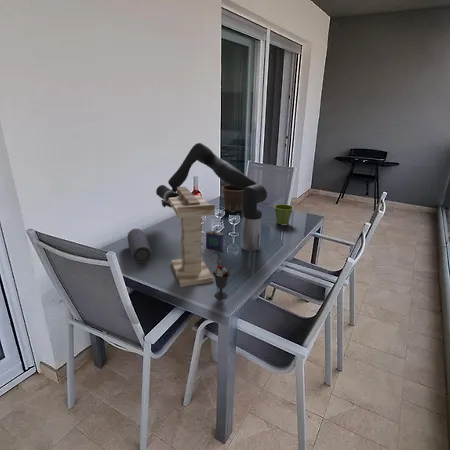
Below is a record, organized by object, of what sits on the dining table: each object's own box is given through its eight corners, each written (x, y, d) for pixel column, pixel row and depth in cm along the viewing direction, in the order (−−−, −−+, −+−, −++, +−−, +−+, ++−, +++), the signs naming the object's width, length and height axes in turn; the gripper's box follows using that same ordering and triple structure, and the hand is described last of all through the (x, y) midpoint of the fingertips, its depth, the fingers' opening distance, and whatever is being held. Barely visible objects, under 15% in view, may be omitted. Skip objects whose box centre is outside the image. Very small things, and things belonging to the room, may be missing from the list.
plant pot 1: (242, 214, 212) (243, 191, 206) (219, 212, 215) (219, 189, 209) (246, 207, 226) (247, 185, 220) (224, 205, 230) (225, 183, 224)
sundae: (211, 290, 126) (212, 257, 121) (228, 290, 127) (229, 257, 121) (212, 300, 120) (213, 266, 115) (230, 300, 121) (231, 265, 115)
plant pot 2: (294, 223, 200) (296, 206, 196) (287, 228, 191) (289, 211, 186) (277, 219, 206) (278, 202, 202) (269, 224, 196) (271, 207, 192)
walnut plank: (176, 192, 142) (176, 187, 141) (185, 192, 143) (185, 186, 142) (189, 209, 121) (189, 203, 120) (199, 208, 122) (199, 202, 121)
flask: (223, 249, 162) (224, 229, 158) (222, 251, 160) (222, 232, 156) (206, 246, 164) (206, 227, 161) (204, 249, 162) (204, 229, 158)
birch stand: (171, 264, 146) (168, 193, 133) (200, 260, 150) (200, 191, 138) (180, 287, 128) (178, 207, 116) (213, 281, 133) (214, 204, 120)
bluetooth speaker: (127, 246, 162) (125, 228, 158) (145, 244, 165) (144, 226, 162) (132, 267, 142) (130, 247, 139) (153, 264, 146) (151, 244, 142)
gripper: (157, 193, 164) (163, 198, 150) (183, 188, 169) (192, 193, 155) (159, 207, 167) (166, 214, 152) (185, 202, 171) (194, 208, 157)
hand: (179, 203), depth 153 cm, fingers open, 8 cm apart
